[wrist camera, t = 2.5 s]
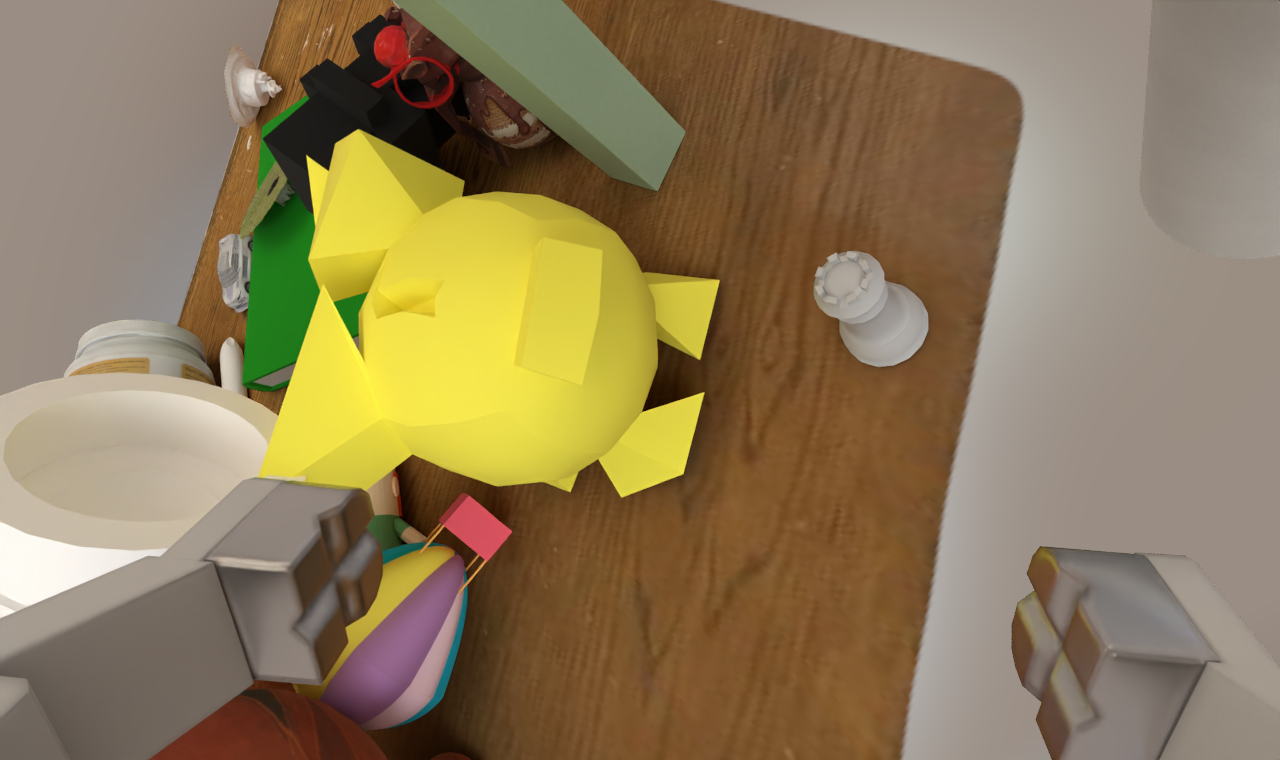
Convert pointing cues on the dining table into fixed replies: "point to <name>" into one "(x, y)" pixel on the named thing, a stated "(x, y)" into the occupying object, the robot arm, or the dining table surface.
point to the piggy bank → (479, 336)
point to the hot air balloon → (410, 626)
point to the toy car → (235, 270)
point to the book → (283, 285)
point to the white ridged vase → (114, 473)
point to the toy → (357, 114)
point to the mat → (266, 199)
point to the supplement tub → (141, 351)
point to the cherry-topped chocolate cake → (486, 102)
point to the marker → (232, 367)
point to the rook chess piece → (870, 309)
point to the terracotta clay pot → (277, 732)
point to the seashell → (246, 87)
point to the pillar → (561, 80)
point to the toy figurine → (390, 514)
